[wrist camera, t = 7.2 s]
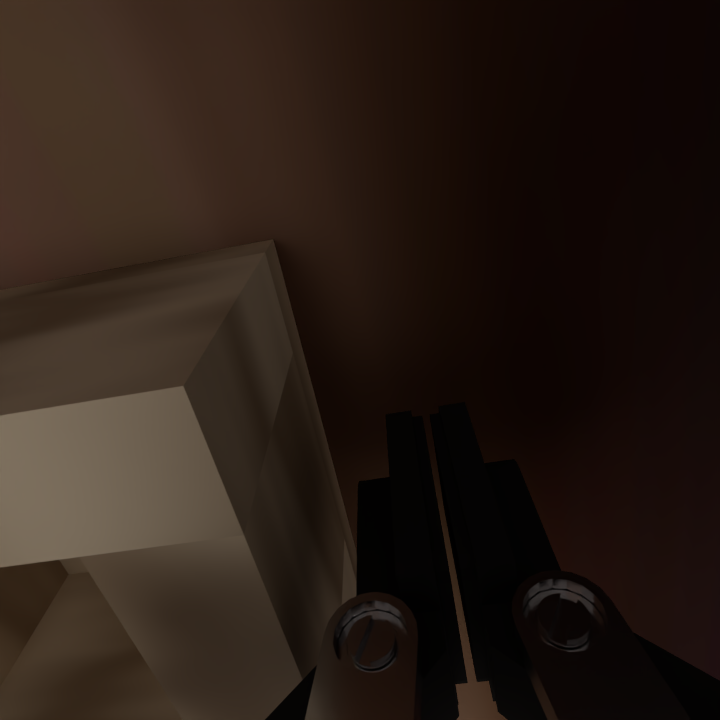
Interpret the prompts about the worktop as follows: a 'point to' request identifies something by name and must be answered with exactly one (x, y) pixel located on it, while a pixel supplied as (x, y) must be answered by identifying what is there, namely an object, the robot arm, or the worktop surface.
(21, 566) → the socket block
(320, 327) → the worktop surface
